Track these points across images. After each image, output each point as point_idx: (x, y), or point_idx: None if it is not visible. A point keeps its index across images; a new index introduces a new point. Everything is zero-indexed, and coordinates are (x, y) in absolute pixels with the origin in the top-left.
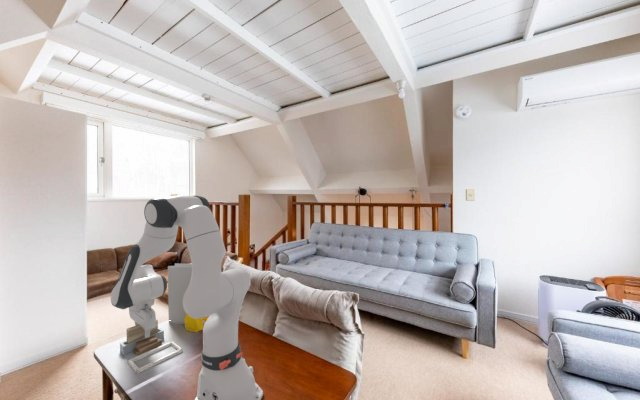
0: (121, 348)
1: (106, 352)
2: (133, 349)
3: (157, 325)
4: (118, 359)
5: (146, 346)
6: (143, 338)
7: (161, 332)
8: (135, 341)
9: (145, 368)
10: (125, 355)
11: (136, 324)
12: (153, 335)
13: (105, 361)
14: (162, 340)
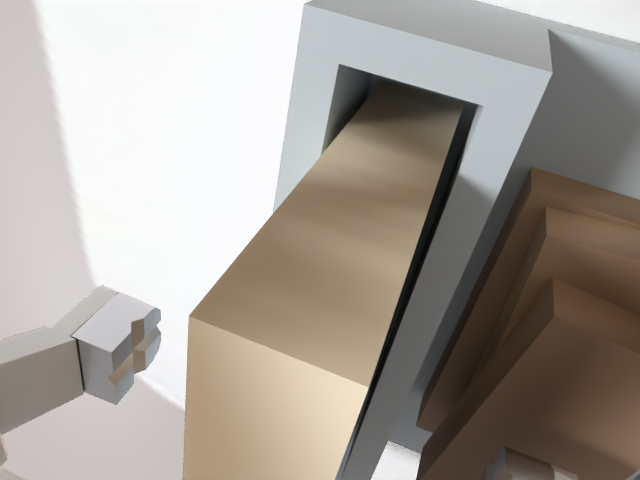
0: None
1: (157, 369)
2: (425, 428)
3: (410, 254)
4: None
5: None
6: (402, 383)
7: (526, 120)
8: (370, 445)
9: None
10: (401, 438)
11: (39, 410)
12: (465, 266)
13: None
14: (587, 97)
